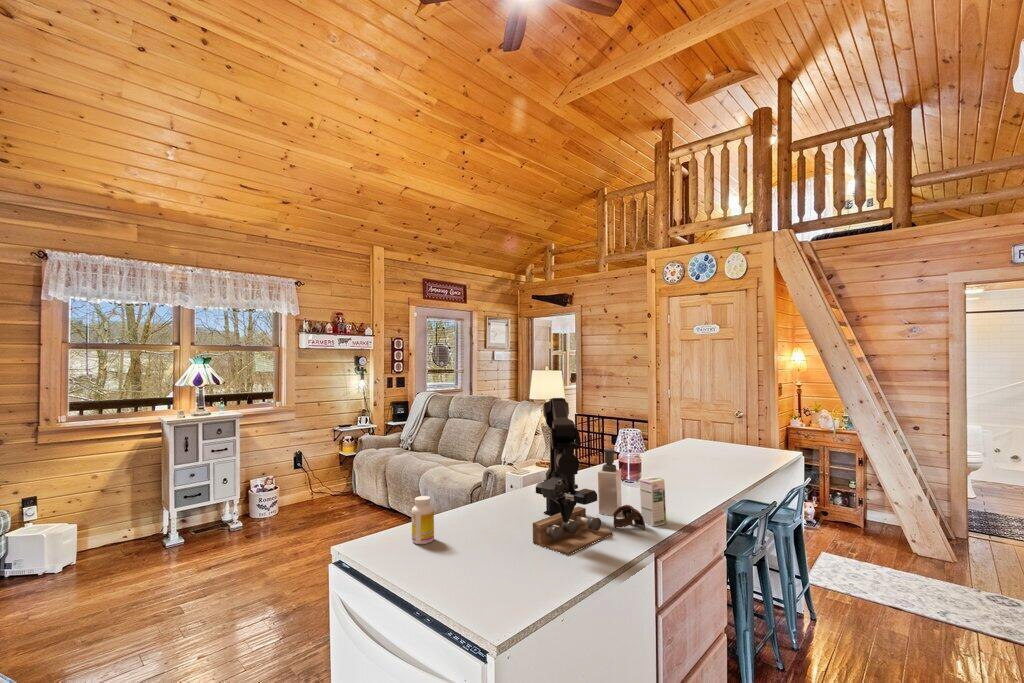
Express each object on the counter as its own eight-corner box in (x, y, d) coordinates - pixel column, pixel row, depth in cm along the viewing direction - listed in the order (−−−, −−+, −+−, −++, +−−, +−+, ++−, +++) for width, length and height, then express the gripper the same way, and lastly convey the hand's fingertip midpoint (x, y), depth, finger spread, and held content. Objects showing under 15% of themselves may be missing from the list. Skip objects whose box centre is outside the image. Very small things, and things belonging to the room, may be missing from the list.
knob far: (573, 526, 149) (573, 513, 150) (580, 523, 152) (580, 511, 152) (594, 532, 144) (593, 519, 144) (601, 529, 146) (600, 516, 147)
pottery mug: (651, 535, 147) (639, 513, 145) (623, 547, 148) (611, 526, 146) (642, 513, 158) (631, 493, 157) (616, 524, 160) (605, 505, 158)
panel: (533, 543, 140) (532, 522, 140) (578, 524, 155) (578, 506, 156) (567, 555, 131) (567, 533, 131) (612, 534, 146) (611, 514, 146)
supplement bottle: (438, 538, 146) (437, 495, 146) (427, 546, 139) (427, 501, 140) (418, 535, 148) (418, 494, 148) (407, 543, 141) (407, 500, 142)
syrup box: (653, 527, 152) (652, 481, 153) (640, 522, 157) (639, 477, 158) (666, 524, 154) (665, 479, 155) (653, 519, 160) (652, 475, 160)
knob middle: (550, 529, 147) (550, 516, 147) (558, 526, 150) (557, 513, 150) (570, 535, 141) (570, 522, 142) (578, 532, 144) (577, 519, 144)
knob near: (535, 535, 142) (534, 522, 142) (543, 532, 145) (543, 519, 145) (555, 542, 136) (555, 528, 137) (563, 538, 139) (563, 525, 139)
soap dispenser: (623, 509, 171) (621, 447, 172) (617, 516, 163) (615, 452, 164) (605, 507, 174) (603, 446, 175) (599, 514, 166) (597, 450, 167)
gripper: (522, 467, 138) (523, 522, 137) (572, 477, 124) (574, 537, 124) (547, 461, 146) (548, 513, 145) (597, 470, 132) (599, 527, 131)
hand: (566, 522), depth 136 cm, fingers closed
